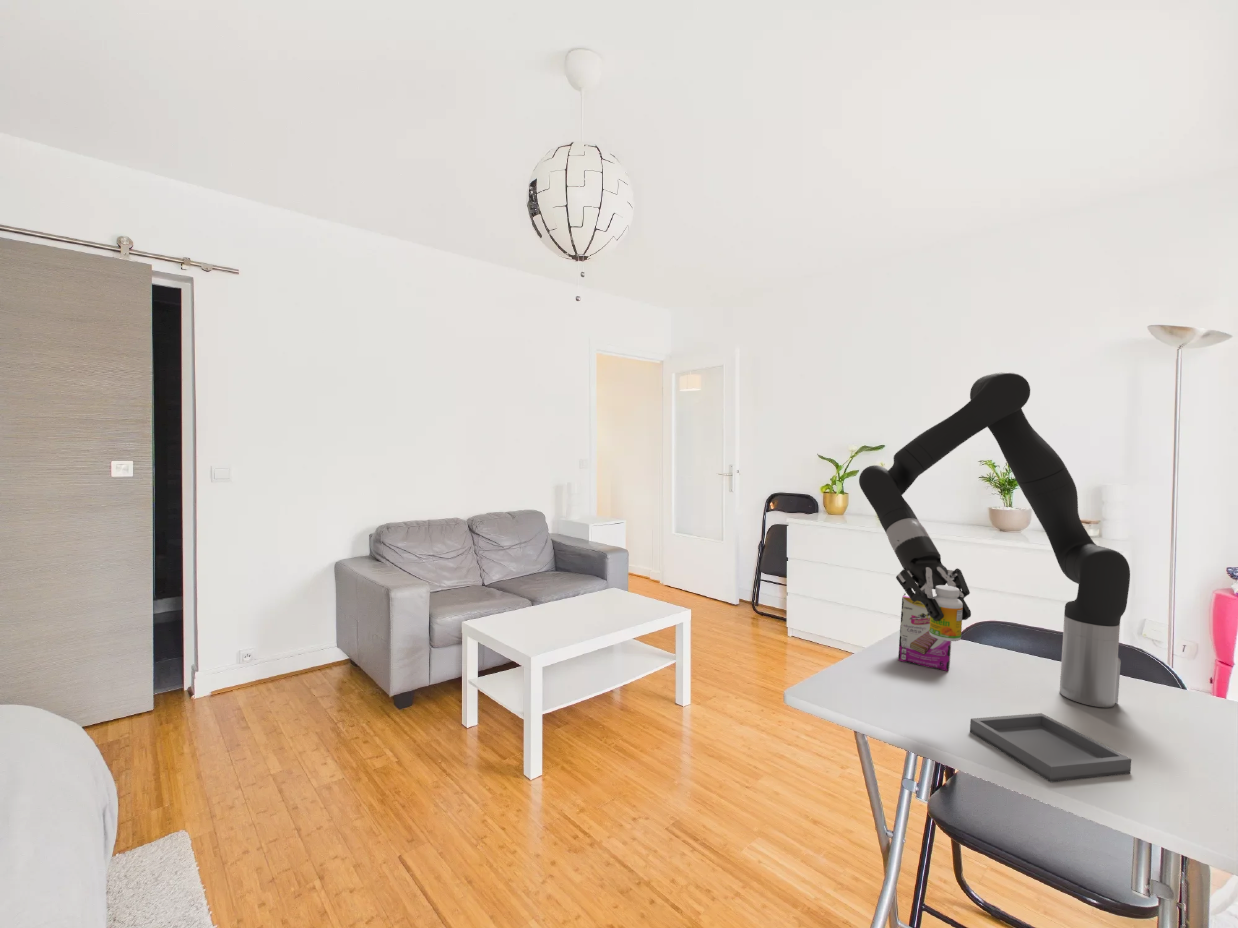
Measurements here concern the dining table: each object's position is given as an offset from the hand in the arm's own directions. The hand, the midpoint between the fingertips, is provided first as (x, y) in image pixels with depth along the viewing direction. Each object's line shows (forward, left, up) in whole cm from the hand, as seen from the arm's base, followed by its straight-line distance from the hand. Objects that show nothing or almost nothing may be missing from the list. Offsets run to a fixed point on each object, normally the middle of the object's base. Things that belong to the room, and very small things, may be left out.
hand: (953, 618), depth 108 cm
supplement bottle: (0, -2, -4) cm, 5 cm away
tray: (-10, +11, -21) cm, 25 cm away
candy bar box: (-18, -28, -21) cm, 39 cm away
